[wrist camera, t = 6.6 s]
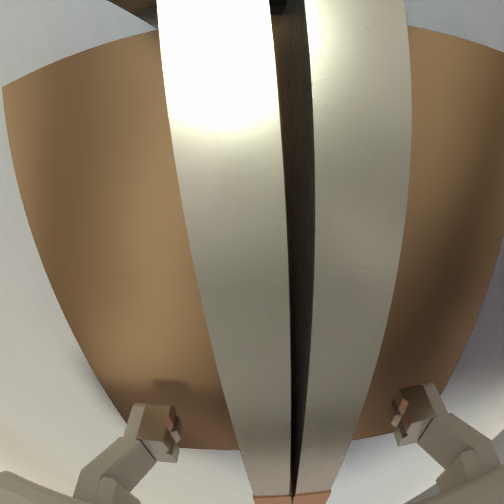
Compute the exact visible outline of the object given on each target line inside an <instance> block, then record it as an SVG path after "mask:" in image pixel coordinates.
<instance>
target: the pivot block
mask: <svg viewBox="0 0 504 504" xmlns="http://www.w3.org/2000/svg"><path fill="white" fill-rule="evenodd" d="M108 1H110V2H112V3H114V4H115V5H117V6H119V7H121V8H123V9H125V10H126V11H128V12H130V13H132V14H133V15H135V16H137V17H139V18H140V19H142V20H144V21H145V22H147V23H149V24H150V25H152V26H154V27H155V28H157V29H159V23H158V10H157V0H108ZM268 1H269V9H270V15H283V12H284V9H285V6H286V3H287V0H268Z"/></svg>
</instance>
